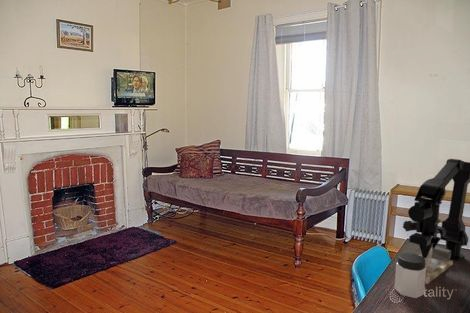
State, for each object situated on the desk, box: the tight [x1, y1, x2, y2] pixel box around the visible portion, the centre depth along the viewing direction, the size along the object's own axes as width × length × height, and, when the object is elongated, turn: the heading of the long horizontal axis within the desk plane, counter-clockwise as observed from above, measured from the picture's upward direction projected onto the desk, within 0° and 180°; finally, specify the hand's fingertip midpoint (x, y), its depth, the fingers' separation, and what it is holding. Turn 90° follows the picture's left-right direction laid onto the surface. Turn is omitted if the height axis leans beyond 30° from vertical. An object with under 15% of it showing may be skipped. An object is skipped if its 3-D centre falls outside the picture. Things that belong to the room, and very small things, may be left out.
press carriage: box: [418, 246, 441, 273], centre depth 134 cm, size 8×8×9 cm
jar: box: [394, 252, 426, 299], centre depth 119 cm, size 9×8×12 cm
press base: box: [425, 245, 454, 285], centre depth 136 cm, size 24×10×6 cm, turn 131°
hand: (426, 256), depth 134 cm, fingers closed on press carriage, 3 cm apart
